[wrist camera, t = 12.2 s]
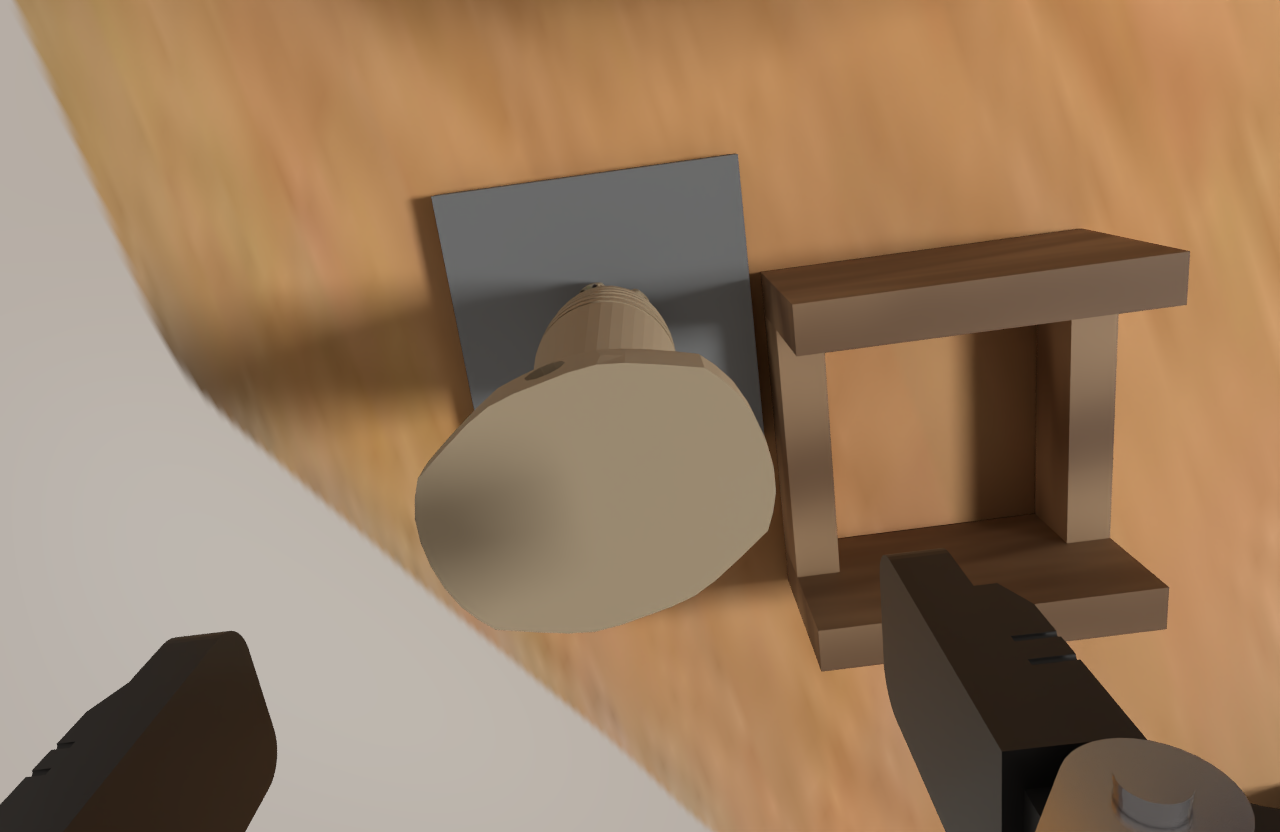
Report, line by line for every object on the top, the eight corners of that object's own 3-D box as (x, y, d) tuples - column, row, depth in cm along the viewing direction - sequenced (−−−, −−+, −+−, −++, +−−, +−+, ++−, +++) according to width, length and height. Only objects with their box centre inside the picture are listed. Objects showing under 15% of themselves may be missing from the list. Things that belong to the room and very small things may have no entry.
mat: (436, 195, 29) (431, 196, 28) (734, 153, 29) (737, 154, 28) (491, 472, 32) (488, 480, 31) (761, 437, 32) (765, 444, 31)
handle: (493, 295, 29) (369, 450, 15) (672, 223, 29) (718, 313, 14) (551, 421, 31) (486, 672, 16) (722, 355, 30) (809, 557, 16)
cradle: (760, 272, 30) (792, 304, 24) (1081, 228, 30) (1190, 251, 24) (788, 580, 34) (821, 671, 28) (1073, 544, 33) (1166, 629, 28)
